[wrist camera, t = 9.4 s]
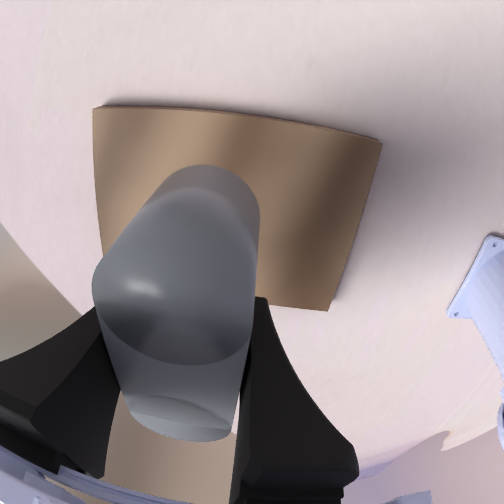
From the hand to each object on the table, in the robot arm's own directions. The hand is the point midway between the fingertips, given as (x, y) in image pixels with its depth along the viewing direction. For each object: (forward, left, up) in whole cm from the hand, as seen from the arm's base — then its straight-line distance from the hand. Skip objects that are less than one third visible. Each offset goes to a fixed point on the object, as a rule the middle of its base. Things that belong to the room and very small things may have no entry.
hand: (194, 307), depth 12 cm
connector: (0, +1, -1) cm, 2 cm away
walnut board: (0, 0, -8) cm, 8 cm away
